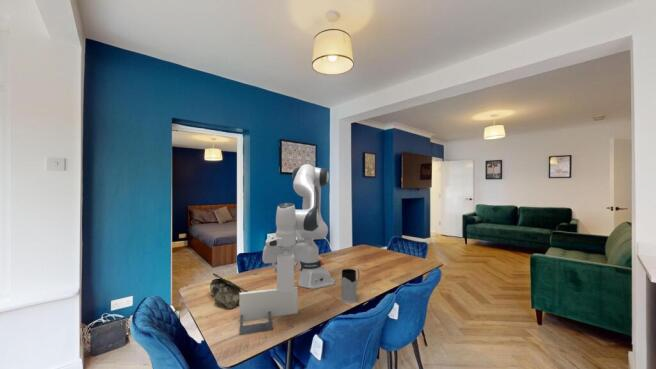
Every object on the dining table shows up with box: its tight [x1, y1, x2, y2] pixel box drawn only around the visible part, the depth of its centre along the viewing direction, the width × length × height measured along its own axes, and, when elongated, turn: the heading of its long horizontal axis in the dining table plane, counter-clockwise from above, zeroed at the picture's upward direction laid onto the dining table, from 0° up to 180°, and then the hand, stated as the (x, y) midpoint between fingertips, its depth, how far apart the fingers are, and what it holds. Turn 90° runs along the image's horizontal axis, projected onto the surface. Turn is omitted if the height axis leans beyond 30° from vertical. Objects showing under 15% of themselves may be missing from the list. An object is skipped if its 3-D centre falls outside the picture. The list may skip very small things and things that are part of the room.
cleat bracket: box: [239, 311, 274, 336], centre depth 114 cm, size 13×10×3 cm
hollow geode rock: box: [209, 272, 249, 309], centre depth 139 cm, size 28×13×15 cm
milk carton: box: [276, 249, 295, 292], centre depth 117 cm, size 7×7×19 cm
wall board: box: [238, 286, 299, 323], centre depth 122 cm, size 26×2×12 cm, turn 107°
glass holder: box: [340, 268, 360, 304], centre depth 142 cm, size 9×14×15 cm, turn 140°
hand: (285, 271), depth 117 cm, fingers closed on milk carton, 7 cm apart
